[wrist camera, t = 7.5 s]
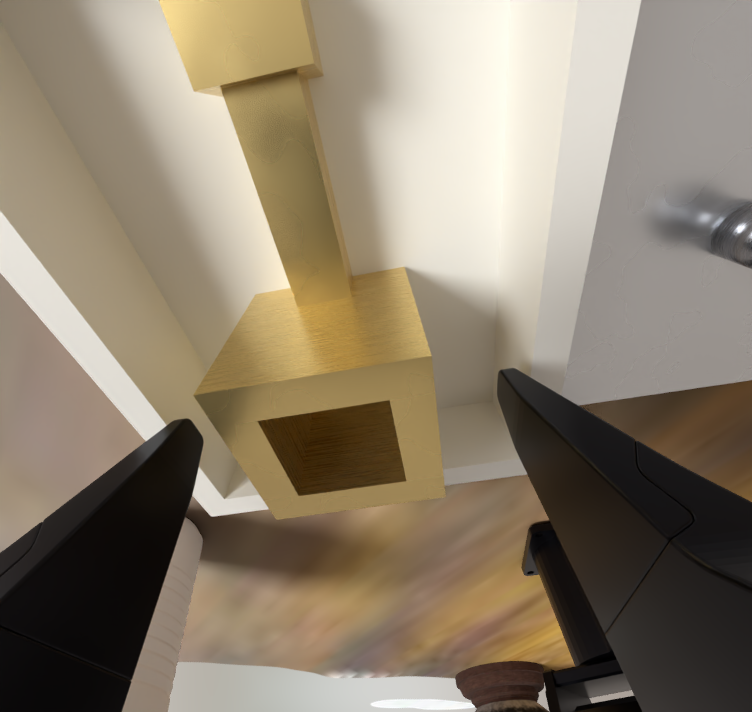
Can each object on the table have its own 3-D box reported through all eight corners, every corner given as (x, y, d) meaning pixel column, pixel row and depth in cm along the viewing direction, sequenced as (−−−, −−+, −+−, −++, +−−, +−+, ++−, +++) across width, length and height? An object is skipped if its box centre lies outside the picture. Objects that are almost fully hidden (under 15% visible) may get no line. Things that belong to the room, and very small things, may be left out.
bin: (510, 405, 15) (545, 472, 12) (238, 446, 16) (211, 516, 13) (574, -341, 5) (816, -866, 3) (-128, -134, 6) (-538, -349, 3)
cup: (18, 478, 17) (-377, 888, 8) (219, 479, 17) (69, 858, 8) (99, 567, 22) (-76, 864, 13) (248, 566, 23) (177, 847, 14)
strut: (420, 383, 14) (446, 496, 9) (301, 402, 14) (276, 519, 10) (361, -52, 7) (363, -322, 3) (134, 6, 7) (-171, -150, 3)
